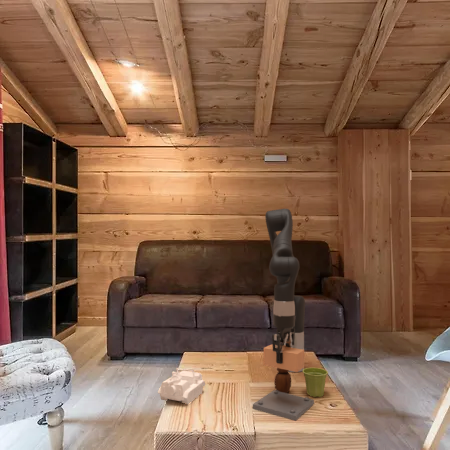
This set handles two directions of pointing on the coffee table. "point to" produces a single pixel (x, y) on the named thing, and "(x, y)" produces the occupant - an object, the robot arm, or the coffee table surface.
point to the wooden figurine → (282, 380)
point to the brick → (285, 358)
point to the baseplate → (283, 404)
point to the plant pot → (315, 381)
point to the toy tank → (182, 386)
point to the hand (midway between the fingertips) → (283, 360)
